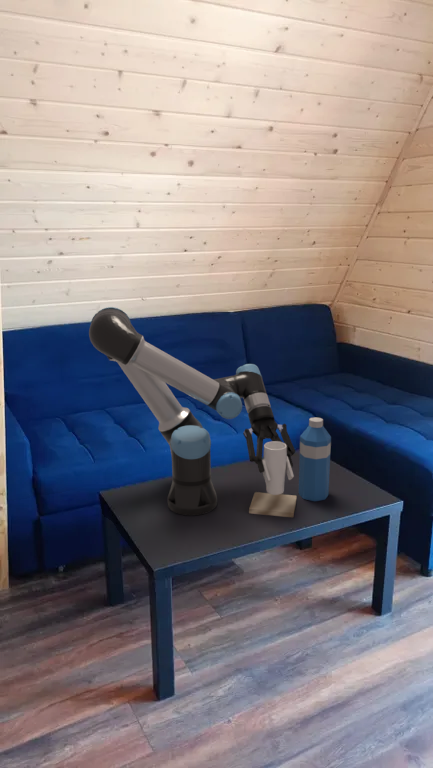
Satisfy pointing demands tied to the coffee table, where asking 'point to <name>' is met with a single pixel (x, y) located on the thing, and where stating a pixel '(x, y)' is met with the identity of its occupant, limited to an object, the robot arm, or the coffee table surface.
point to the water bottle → (314, 461)
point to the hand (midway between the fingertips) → (279, 480)
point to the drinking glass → (275, 466)
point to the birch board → (273, 504)
